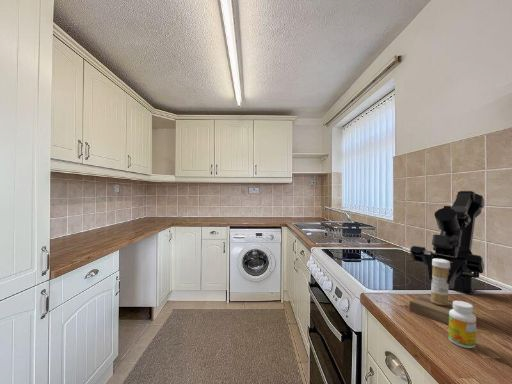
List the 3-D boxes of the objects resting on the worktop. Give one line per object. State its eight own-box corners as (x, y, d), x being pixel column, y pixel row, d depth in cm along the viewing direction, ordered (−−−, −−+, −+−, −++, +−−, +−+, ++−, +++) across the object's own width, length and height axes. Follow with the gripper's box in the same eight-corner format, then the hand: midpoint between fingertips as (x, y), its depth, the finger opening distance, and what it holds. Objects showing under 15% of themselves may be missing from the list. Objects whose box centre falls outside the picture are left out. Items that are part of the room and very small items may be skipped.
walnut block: (427, 302, 90) (427, 293, 90) (470, 316, 80) (471, 306, 80) (409, 310, 83) (409, 301, 83) (454, 327, 73) (454, 316, 73)
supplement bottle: (443, 336, 68) (443, 299, 68) (462, 336, 69) (463, 299, 69) (461, 349, 63) (461, 308, 63) (481, 348, 63) (482, 308, 63)
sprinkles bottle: (446, 301, 83) (448, 259, 82) (449, 307, 79) (451, 263, 78) (429, 298, 85) (431, 257, 84) (431, 304, 81) (433, 260, 80)
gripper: (412, 222, 91) (399, 259, 84) (482, 228, 77) (474, 274, 70) (419, 241, 96) (408, 278, 89) (486, 251, 82) (479, 295, 75)
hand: (439, 281), depth 81 cm, fingers closed on sprinkles bottle, 4 cm apart
